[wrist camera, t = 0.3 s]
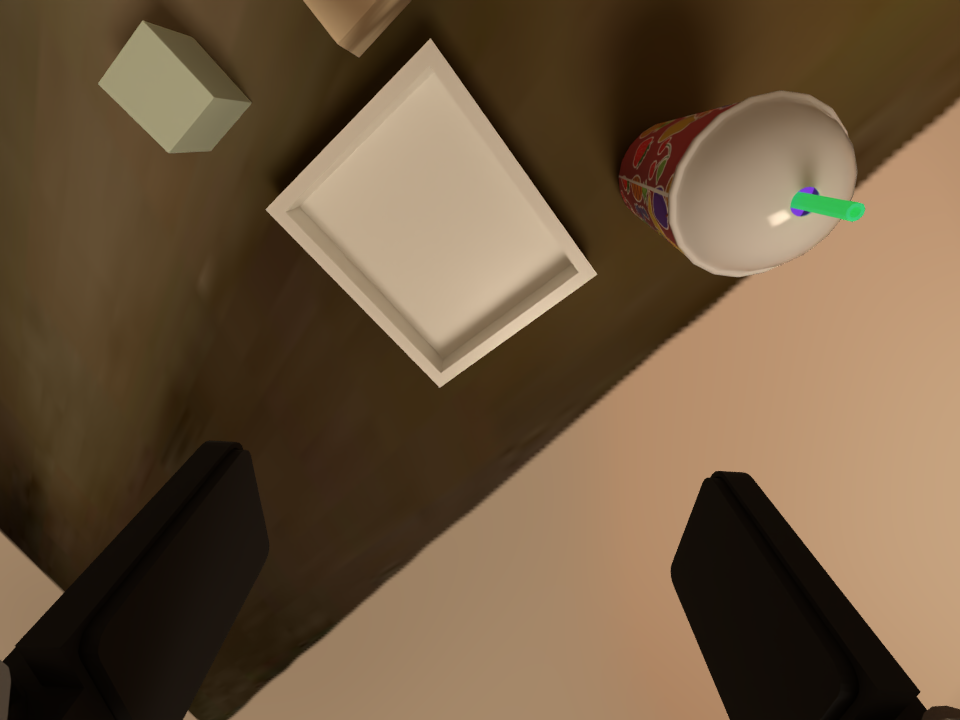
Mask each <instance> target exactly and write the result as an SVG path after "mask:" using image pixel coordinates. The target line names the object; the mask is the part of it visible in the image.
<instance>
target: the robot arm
mask: <svg viewBox="0 0 960 720" xmlns="http://www.w3.org/2000/svg"><path fill="white" fill-rule="evenodd" d="M268 552H269V539H268V535H267V530H266V525H265V521H264V516H263V511H262V506H261V502H260V497H259V492H258V487H257V483H256V478H255V473H254V469H253V464H252V459H251V455H250V452H249V451H247V450H243V448H242V445H241V444H240V443H237V442H225V441H207V442H205V443H204V444H202V445H201V446H200V447H199V448H198V449H197V451H196V452H195V453H194V454H193V455H192V456H191V457H190V458H189V459H188V460H187V461H186V462H185V463H184V465H183V466H182V467H181V468H180V469H179V470H178V471H177V472H176V473H175V474H174V475H173V476H172V477H171V478H170V480H169V481H168V482H167V483H166V484H165V485H164V486H163V487H162V488H161V489H160V490H159V491H158V492H157V494H156V495H155V496H154V497H153V498H152V499H151V500H150V501H149V502H148V503H147V504H146V505H145V506H144V507H143V509H142V510H141V511H140V512H139V513H138V514H137V515H136V516H135V517H134V518H133V519H132V520H131V521H130V523H129V524H128V525H127V526H126V527H125V528H124V529H123V530H122V531H121V532H120V533H119V534H118V535H117V537H116V538H115V539H114V540H113V541H112V542H111V543H110V544H109V545H108V546H107V547H106V548H105V549H104V550H103V552H102V553H101V554H100V555H99V556H98V557H97V558H96V559H95V560H94V561H93V562H92V563H91V564H90V566H89V567H88V568H87V569H86V570H85V571H84V572H83V573H82V574H81V575H80V576H79V577H78V578H77V580H76V581H75V582H74V583H73V584H72V585H71V586H70V587H69V588H68V589H67V590H66V591H65V592H64V593H63V595H62V596H61V597H60V598H59V599H58V600H57V601H56V602H55V603H54V604H53V605H52V606H51V607H50V609H49V610H48V611H47V612H46V613H45V614H44V615H43V616H42V617H41V618H40V619H39V620H38V622H37V623H36V624H35V625H34V626H33V627H32V628H31V629H30V630H29V631H28V632H27V633H26V634H25V635H24V636H23V638H22V639H21V640H20V641H19V642H18V643H17V644H16V645H15V646H16V647H15V649H14V650H13V651H12V652H11V653H10V654H9V655H8V656H7V657H6V658H5V659H4V660H3V661H1V660H0V720H183V718H184V716H185V714H186V713H187V711H188V709H189V707H190V705H191V703H192V701H193V699H194V697H195V695H196V693H197V692H198V690H199V688H200V686H201V684H202V682H203V680H204V678H205V676H206V674H207V672H208V670H209V669H210V667H211V665H212V663H213V661H214V659H215V657H216V655H217V653H218V651H219V649H220V648H221V646H222V644H223V642H224V640H225V638H226V636H227V634H228V632H229V630H230V628H231V626H232V625H233V623H234V621H235V619H236V617H237V615H238V613H239V611H240V609H241V607H242V605H243V604H244V602H245V600H246V598H247V596H248V594H249V592H250V590H251V588H252V586H253V584H254V582H255V581H256V579H257V577H258V575H259V573H260V571H261V569H262V567H263V565H264V563H265V561H266V559H267V556H268ZM671 578H672V582H673V585H674V587H675V590H676V592H677V595H678V597H679V600H680V602H681V604H682V607H683V609H684V611H685V613H686V616H687V618H688V621H689V623H690V626H691V628H692V630H693V633H694V635H695V638H696V640H697V642H698V645H699V647H700V650H701V652H702V654H703V657H704V659H705V662H706V664H707V666H708V669H709V671H710V673H711V676H712V678H713V680H714V683H715V685H716V687H717V690H718V692H719V695H720V697H721V699H722V702H723V704H724V707H725V709H726V711H727V714H728V716H729V719H730V720H960V709H957V708H953V707H949V706H935V707H931V708H930V709H928V710H926V708H925V707H924V706H923V704H922V703H921V702H920V700H919V699H918V698H917V697H916V696H917V695H918V694H919V693H920V691H919V689H918V688H917V687H916V686H915V684H914V683H913V682H912V680H911V679H910V678H909V677H908V675H907V674H906V673H905V672H904V670H903V669H902V668H901V666H900V665H899V664H898V663H897V661H896V660H895V659H894V658H893V656H892V655H891V654H890V652H889V651H888V650H887V649H886V647H885V646H884V645H883V644H882V642H881V641H880V640H879V638H878V637H877V636H876V635H875V633H874V632H873V631H872V630H871V628H870V627H869V626H868V624H867V623H866V622H865V621H864V620H863V618H862V617H861V616H860V614H859V613H858V612H857V610H856V609H855V608H854V607H853V605H852V604H851V603H850V602H849V600H848V599H847V598H846V597H845V595H844V594H843V593H842V591H841V590H840V589H839V588H838V586H837V585H836V584H835V582H834V581H833V580H832V579H831V578H830V576H829V575H828V574H827V572H826V571H825V570H824V569H823V567H822V566H821V565H820V563H819V562H818V561H817V560H816V558H815V557H814V556H813V554H812V553H811V552H810V551H809V549H808V548H807V547H806V546H805V544H804V543H803V542H802V540H801V539H800V538H799V537H798V536H797V534H796V533H795V532H794V530H793V529H792V528H791V526H790V525H789V524H788V523H787V522H786V520H785V519H784V518H783V516H782V515H781V514H780V513H779V511H778V510H777V509H776V508H775V506H774V505H773V504H772V502H771V501H770V500H769V499H768V497H767V496H766V495H765V494H764V492H763V491H762V490H761V488H760V487H759V486H758V485H757V483H756V482H755V481H754V479H753V478H752V477H751V476H750V475H749V474H747V473H742V472H726V471H716V472H714V473H713V474H712V476H711V477H710V478H706V479H705V480H704V481H703V483H702V486H701V488H700V491H699V494H698V496H697V499H696V502H695V504H694V507H693V510H692V512H691V515H690V517H689V520H688V523H687V525H686V528H685V531H684V533H683V536H682V538H681V541H680V544H679V546H678V549H677V552H676V554H675V557H674V560H673V562H672V565H671Z"/></svg>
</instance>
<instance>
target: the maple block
mask: <svg viewBox="0 0 960 720" xmlns="http://www.w3.org/2000/svg"><path fill="white" fill-rule="evenodd" d="M303 1H304V2H305V3H306V5H307V6H308V7H309V8H310V10H311V11H312V12H313V13H314V15H315V16H316V17H317V19H318V20H319V21H320V22H321V24H322V25H323V26H324V27H325V29H326V30H327V31H328V33H329V34H330V35H331V36H332V38H333V39H334V40H335V41H336V43H337V44H338V45H340V46H341V47H343V48H345V49H346V50H348V51H349V52H351V53H353V54H354V55H356V56H357V57H360V56H361V55H362V54H363V53H364V52H365V51H366V49H367V48H368V47H369V46H370V45H371V44H372V43H373V42H374V41H375V40H376V39H377V37H378V36H379V35H380V34H381V33H382V32H383V31H384V30H385V29H386V28H387V27H388V25H389V24H390V23H391V22H392V21H393V20H394V19H395V18H396V17H397V16H398V15H399V13H400V12H401V11H402V10H403V9H404V8H405V7H406V6H407V5H408V4H409V3H410V1H411V0H303Z"/></svg>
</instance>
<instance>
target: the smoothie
mask: <svg viewBox="0 0 960 720" xmlns="http://www.w3.org/2000/svg"><path fill="white" fill-rule="evenodd" d="M856 177H857V165H856V159H855V153H854V147H853V144H852V142H851V141H850V139H849V138H848V133H847V130H846V129H845V127H844V126H843V124H842V122H841V121H840V119H839V118H838V116H837V115H836V113H835V111H834V110H833V108H831V107H829V106H828V105H826V104H825V103H823V102H821V101H820V100H818V99H816V98H815V97H813V96H812V95H810V94H804V93H797V92H790V91H783V90H780V91H775V92H771V93H766V94H762V95H758V96H753V97H749V98H747V99H745V100H743V101H742V102H738V103H734V104H731V105H727V106H723V107H719V108H716V109H712V110H708V111H704V112H701V113H697V114H693V115H689V116H686V117H682V118H678V119H674V120H671V121H667V122H663V123H659V124H655V125H654V126H652V127H651V128H649V129H647V130H646V131H644V132H643V133H641V134H640V135H639V136H638V137H637V139H636V140H635V141H634V142H633V143H632V144H631V145H630V146H629V148H628V150H627V152H626V154H625V156H624V158H623V160H622V163H621V168H620V172H619V187H620V193H621V196H622V198H623V200H624V203H625V205H626V206H627V207H628V208H629V209H630V210H631V211H632V212H633V213H634V214H635V215H636V216H638V217H639V218H640V219H641V220H643V221H644V222H645V223H646V224H647V225H649V226H650V227H651V228H652V229H654V230H655V231H656V232H657V233H659V234H660V235H661V236H662V237H663V238H665V239H666V240H667V241H668V242H670V243H671V244H672V245H673V246H675V247H676V248H677V249H678V250H680V251H681V252H682V253H683V254H684V255H686V256H687V257H688V258H689V260H690V261H691V262H692V263H693V264H694V265H696V266H698V267H700V268H702V269H704V270H706V271H708V272H710V273H712V274H716V275H724V276H732V277H742V276H747V275H753V274H758V273H764V272H766V271H768V270H771V269H773V268H775V267H777V266H779V265H782V264H784V263H786V262H788V261H791V260H793V259H795V258H797V257H799V256H801V255H804V254H805V253H806V252H808V251H809V250H810V249H812V248H813V247H814V246H815V245H817V244H818V243H819V242H820V241H822V240H823V239H824V238H825V237H827V236H828V235H829V233H830V232H831V231H832V230H833V229H834V227H835V226H836V225H837V223H838V222H839V221H840V220H841V219H843V220H847V221H852V222H853V221H856V220H858V219H859V218H860V217H862V215H863V214H864V211H865V207H864V204H861V203H858V202H852V201H851V199H852V197H853V194H854V188H855V183H856Z"/></svg>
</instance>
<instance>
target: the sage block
mask: <svg viewBox="0 0 960 720" xmlns="http://www.w3.org/2000/svg"><path fill="white" fill-rule="evenodd" d="M98 84H99V85H100V86H101V87H102V88H103V89H104V90H105V91H106V92H107V93H108V94H109V95H110V96H111V97H112V98H113V99H114V100H115V101H116V102H117V103H118V104H119V105H120V106H121V107H122V108H123V109H124V110H125V111H126V112H127V113H128V114H129V115H130V116H131V117H132V118H133V119H134V120H135V121H136V122H137V123H138V124H139V125H140V126H141V127H142V128H143V129H145V130H146V131H147V132H148V133H149V134H150V135H151V136H152V137H153V138H154V139H155V140H156V141H157V142H158V143H159V144H160V145H161V146H162V147H163V148H164V149H165V150H166V151H167V152H168V153H184V152H203V151H211V150H212V149H213V148H214V147H215V145H216V144H217V143H218V142H219V141H220V140H221V138H222V137H223V136H224V135H225V134H226V133H227V131H228V130H229V129H230V128H231V127H232V126H233V124H234V123H235V122H236V121H237V120H238V119H239V117H240V116H241V115H242V114H243V113H244V112H245V110H246V109H247V108H248V107H249V106H250V105H251V103H252V102H251V101H250V100H249V99H248V98H247V97H246V96H245V95H244V93H243V92H242V91H241V90H240V89H239V88H238V87H237V86H236V85H235V83H234V82H233V81H232V80H231V79H230V78H229V77H228V76H227V75H226V74H225V72H224V71H223V70H222V69H221V68H220V67H219V66H218V65H217V64H216V62H215V61H214V60H213V59H212V58H211V57H210V56H209V55H208V54H207V52H206V51H205V50H204V49H203V48H202V47H201V46H200V45H199V44H198V42H197V41H196V40H195V39H194V38H193V37H191V36H188V35H185V34H182V33H179V32H176V31H173V30H170V29H167V28H164V27H161V26H158V25H155V24H152V23H149V22H146V21H142V22H141V23H140V25H139V26H138V28H137V29H136V31H135V32H134V33H133V35H132V36H131V38H130V39H129V40H128V42H127V43H126V45H125V46H124V48H123V49H122V50H121V52H120V53H119V55H118V56H117V58H116V59H115V60H114V62H113V63H112V65H111V66H110V68H109V69H108V70H107V72H106V73H105V75H104V76H103V77H102V79H101V80H100V82H99V83H98Z"/></svg>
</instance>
